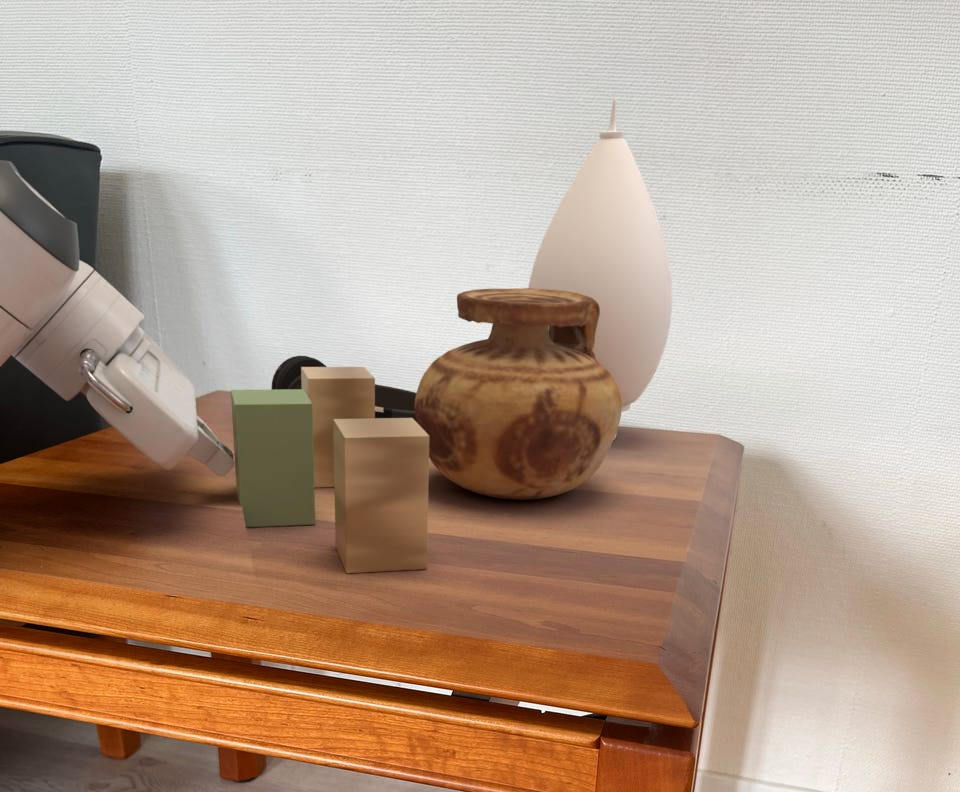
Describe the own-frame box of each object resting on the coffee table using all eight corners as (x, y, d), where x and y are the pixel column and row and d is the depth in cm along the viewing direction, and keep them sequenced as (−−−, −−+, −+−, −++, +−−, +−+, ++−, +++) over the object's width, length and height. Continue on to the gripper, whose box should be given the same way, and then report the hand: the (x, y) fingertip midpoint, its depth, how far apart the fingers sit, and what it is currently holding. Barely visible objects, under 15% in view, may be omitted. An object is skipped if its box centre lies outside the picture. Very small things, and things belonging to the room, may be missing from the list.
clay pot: (538, 501, 82) (479, 251, 80) (401, 532, 97) (347, 321, 94) (678, 464, 95) (631, 246, 92) (538, 497, 109) (494, 309, 106)
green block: (241, 527, 83) (234, 404, 79) (237, 506, 88) (230, 389, 84) (315, 524, 84) (312, 403, 80) (307, 504, 90) (304, 389, 86)
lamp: (677, 451, 114) (721, 97, 99) (541, 454, 110) (565, 86, 96) (627, 421, 128) (658, 106, 113) (504, 422, 124) (521, 97, 110)
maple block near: (346, 573, 74) (344, 437, 70) (335, 547, 80) (333, 418, 76) (427, 569, 76) (429, 435, 72) (410, 543, 81) (412, 417, 77)
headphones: (271, 346, 119) (434, 372, 126) (264, 410, 122) (424, 431, 129) (293, 371, 104) (475, 398, 112) (284, 443, 107) (463, 465, 114)
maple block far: (311, 487, 94) (307, 378, 90) (304, 471, 100) (300, 366, 96) (375, 485, 96) (375, 377, 92) (365, 469, 101) (364, 366, 97)
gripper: (107, 331, 67) (264, 472, 74) (122, 297, 85) (247, 412, 92) (44, 400, 68) (205, 533, 75) (71, 352, 86) (200, 462, 93)
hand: (228, 466), depth 83 cm, fingers closed, pressing on green block
